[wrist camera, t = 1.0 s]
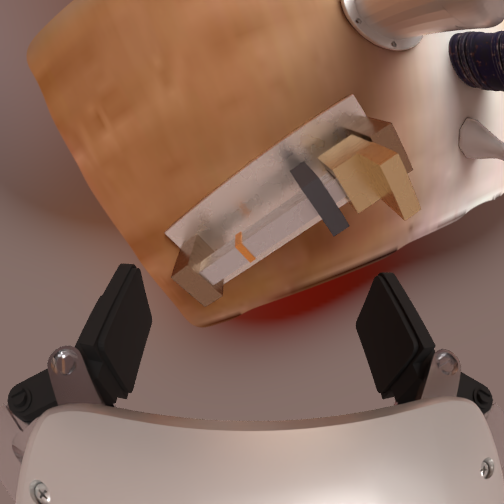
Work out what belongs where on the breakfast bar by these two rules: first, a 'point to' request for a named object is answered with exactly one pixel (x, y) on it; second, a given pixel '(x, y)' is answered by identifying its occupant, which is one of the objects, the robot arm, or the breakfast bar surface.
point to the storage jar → (479, 59)
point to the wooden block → (371, 175)
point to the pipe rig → (266, 201)
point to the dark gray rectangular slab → (319, 198)
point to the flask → (479, 141)
